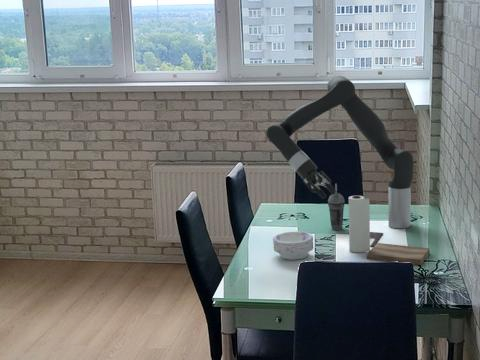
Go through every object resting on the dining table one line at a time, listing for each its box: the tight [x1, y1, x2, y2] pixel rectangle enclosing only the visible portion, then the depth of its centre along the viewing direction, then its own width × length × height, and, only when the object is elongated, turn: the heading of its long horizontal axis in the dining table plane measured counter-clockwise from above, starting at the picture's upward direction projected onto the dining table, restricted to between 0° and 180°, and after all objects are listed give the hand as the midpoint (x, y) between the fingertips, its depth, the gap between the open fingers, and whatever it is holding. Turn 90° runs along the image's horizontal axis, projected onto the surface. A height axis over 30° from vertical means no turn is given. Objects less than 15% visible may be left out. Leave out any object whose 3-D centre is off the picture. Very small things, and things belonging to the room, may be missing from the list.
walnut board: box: [366, 242, 431, 266], centre depth 264 cm, size 14×20×2 cm
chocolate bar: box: [370, 231, 384, 248], centre depth 286 cm, size 9×1×18 cm
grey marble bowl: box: [272, 231, 314, 261], centre depth 269 cm, size 15×15×8 cm
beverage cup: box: [327, 183, 346, 231], centre depth 301 cm, size 7×7×20 cm
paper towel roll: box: [348, 195, 371, 253], centre depth 270 cm, size 7×6×21 cm
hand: (329, 195), depth 274 cm, fingers open, 8 cm apart
